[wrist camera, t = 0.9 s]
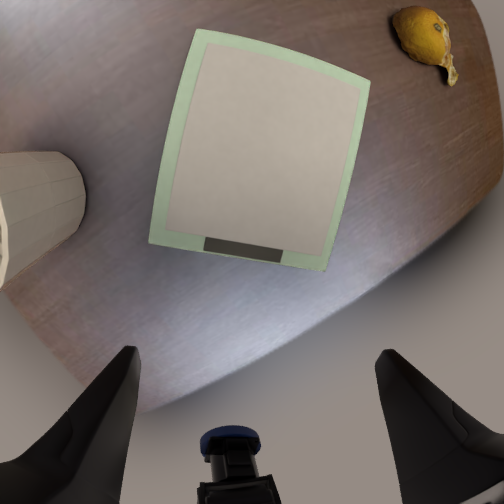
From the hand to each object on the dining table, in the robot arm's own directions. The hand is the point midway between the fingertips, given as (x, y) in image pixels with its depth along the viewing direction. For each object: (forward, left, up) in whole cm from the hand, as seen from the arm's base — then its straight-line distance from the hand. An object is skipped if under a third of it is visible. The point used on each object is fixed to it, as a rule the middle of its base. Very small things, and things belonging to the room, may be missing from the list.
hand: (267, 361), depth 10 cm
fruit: (+22, -13, -12) cm, 29 cm away
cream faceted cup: (+2, +14, -12) cm, 19 cm away
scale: (+7, 0, -12) cm, 14 cm away
